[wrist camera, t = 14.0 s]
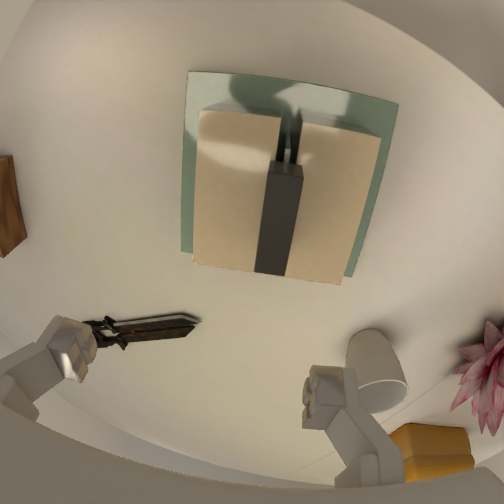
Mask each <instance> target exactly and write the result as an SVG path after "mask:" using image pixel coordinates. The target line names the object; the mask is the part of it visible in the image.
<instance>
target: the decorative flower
mask: <svg viewBox="0 0 504 504" xmlns="http://www.w3.org/2000/svg"><path fill="white" fill-rule="evenodd" d="M458 351H459V352H460V353H461V354H462V355H463V356H464V357H465V358H467V359H468V360H469V361H470V362H468V363H466V364H464V365H462V366H461V367H459V368H458V369H457V370H456V371H455V372H453V374H463V373H465V374H464V375H463V377H462V379H461V381H460V383H459V385H460V384H463V385H462V386H461V388H460V390H459V392H458V394H457V396H456V397H455V399H454V401H453V403H452V406H451V408H450V412H451V411H452V410H454V409H455V408H456V407H458V406H459V405H460V404H462V403H463V402H464V401H466V400H467V399H468V398H470V397H471V396H472V395H473V399H472V416H473V417H474V416H475V415H476V414H477V413H478V414H479V425H480V430H481V433H483V430H484V426H485V423H487V426H488V428H489V430H490V433H491V435H492V436H495V434H496V432H497V430H498V427H499V425H500V422H501V419H502V416H503V413H504V326H503V327H502V330H501V333H500V331H499V330H498V329H497V328H496V327H495V326H494V325H493V324H492V323H491V322H489V321H488V322H487V324H486V329H485V333H484V344H482V343H475V345H470V346H467V347H464V348H461V349H459V350H458Z"/></svg>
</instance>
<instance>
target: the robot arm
mask: <svg viewBox="0 0 504 504" xmlns="http://www.w3.org/2000/svg"><path fill="white" fill-rule="evenodd" d="M92 332H93V331H92V328H91V325H88V324H85V323H82V322H79V321H75V320H72V319H69V318H66V317H63V316H60V315H57V316H55V317H54V318H53V319H52V321H51V322H50V323H49V325H48V326H47V328H46V329H45V330H44V332H43V333H42V335H41V336H40V338H39V339H38V341H37V342H36V343H34V342H33V343H31V344H29V345H27V346H25V347H23V348H21V349H19V350H18V351H16V352H14V353H12V354H10V355H8V356H7V357H5V358H3V359H1V360H0V504H504V483H503V482H502V481H501V480H500V479H499V478H498V477H497V476H496V475H495V474H494V473H493V472H492V471H491V470H489V469H488V468H486V467H478V468H474V469H470V470H466V471H462V472H458V473H454V474H450V475H445V476H441V477H436V478H430V479H425V480H419V481H413V482H406V483H405V474H404V466H403V459H402V452H401V450H400V448H399V447H398V446H397V445H396V444H395V443H394V441H393V440H392V439H391V438H390V437H389V435H388V434H387V433H386V432H385V431H384V430H383V428H382V427H381V426H380V425H379V424H378V422H377V421H376V420H375V419H374V418H373V416H372V415H371V414H370V413H369V412H368V411H367V409H366V408H365V407H361V405H360V398H359V390H358V383H357V376H356V370H355V369H354V368H344V367H334V366H319V365H313V366H312V367H311V369H310V377H308V378H306V381H305V384H304V388H303V398H302V402H303V404H304V405H305V408H304V410H303V412H302V428H304V429H317V430H325V432H326V434H327V436H328V437H329V439H330V440H331V442H332V444H333V445H334V447H335V449H336V450H337V452H338V453H339V455H340V457H341V458H342V460H343V461H344V463H345V465H346V466H347V468H346V469H345V470H344V471H342V472H341V473H340V474H339V475H338V476H337V477H335V488H334V489H306V488H305V489H304V488H282V487H268V486H257V485H247V484H239V483H231V482H225V481H218V480H212V479H207V478H201V477H196V476H191V475H186V474H182V473H177V472H173V471H169V470H165V469H161V468H157V467H153V466H149V465H146V464H142V463H139V462H135V461H132V460H129V459H126V458H123V457H120V456H117V455H113V454H111V453H108V452H105V451H102V450H99V449H97V448H94V447H92V446H89V445H86V444H84V443H81V442H79V441H76V440H74V439H72V438H69V437H67V436H65V435H62V434H60V433H58V432H56V431H54V430H51V429H49V428H47V427H45V426H43V425H41V424H39V423H37V422H36V420H37V418H38V416H39V410H38V409H37V408H36V407H35V405H34V404H33V403H32V402H34V401H35V400H36V399H38V398H39V397H40V396H42V395H43V394H44V393H46V392H47V391H48V390H50V389H51V388H52V387H54V386H55V385H56V384H58V383H59V382H60V381H62V380H63V379H64V377H65V378H67V379H70V380H73V381H76V382H79V383H82V382H83V380H84V378H85V376H86V374H87V372H88V366H87V365H88V364H90V363H92V362H93V360H94V358H95V356H96V352H97V342H96V339H95V338H94V337H93V336H92V335H91V333H92Z"/></svg>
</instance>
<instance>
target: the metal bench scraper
mask: <svg viewBox="0 0 504 504" xmlns="http://www.w3.org/2000/svg"><path fill="white" fill-rule="evenodd" d="M290 153H291V141H290V133H286V136H285V143H284V149H283V156H282V162H279V161H272V160H271V161H270V163H269V168H268V173H267V180H266V188H265V195H264V202H263V209H262V216H261V223H260V230H259V237H258V244H257V252H256V259H255V266H254V272H257V273H264V274H271V275H277V276H285V272H286V267H287V263H288V258H289V253H290V248H291V243H292V238H293V233H294V228H295V223H296V218H297V213H298V208H299V203H300V198H301V192H302V187H303V182H304V174H303V168H302V165H297V164H291V163H289V160H290Z"/></svg>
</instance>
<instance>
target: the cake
mask: <svg viewBox="0 0 504 504" xmlns="http://www.w3.org/2000/svg"><path fill="white" fill-rule="evenodd" d="M398 106H399V105H398V104H396V103H392V102H389V101H385V100H382V99H378V98H374V97H370V96H366V95H362V94H358V93H354V92H350V91H345V90H341V89H336V88H331V87H326V86H321V85H316V84H310V83H305V82H299V81H292V80H286V79H279V78H271V77H263V76H254V75H244V74H233V73H219V72H199V71H188V78H187V90H186V103H185V118H184V136H183V158H182V190H181V252H187V253H193V263H197V264H203V265H210V266H216V267H222V268H229V269H235V270H241V271H248V272H254V266H255V259H256V252H257V244H258V237H259V230H260V223H261V216H262V209H263V202H264V195H265V188H266V180H267V173H268V168H269V163H270V161H271V160H272V161H279V162H282V156H283V149H284V143H285V136H286V133H290V141H291V153H290V160H289V163H291V164H297V165H302V168H303V174H304V182H303V187H302V192H301V198H300V203H299V208H298V213H297V218H296V223H295V228H294V233H293V238H292V243H291V248H290V253H289V258H288V263H287V267H286V272H285V276H281V277H287V278H294V279H301V280H308V281H315V282H322V283H329V284H336V285H341V282H342V279H343V276H346V277H352V275H353V272H354V269H355V266H356V263H357V260H358V257H359V254H360V251H361V248H362V245H363V242H364V239H365V235H366V232H367V229H368V226H369V222H370V219H371V216H372V212H373V209H374V205H375V202H376V198H377V195H378V191H379V187H380V184H381V180H382V176H383V172H384V168H385V164H386V160H387V156H388V152H389V148H390V144H391V139H392V135H393V130H394V126H395V121H396V116H397V111H398ZM254 273H257V272H254ZM276 276H277V275H276Z"/></svg>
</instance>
